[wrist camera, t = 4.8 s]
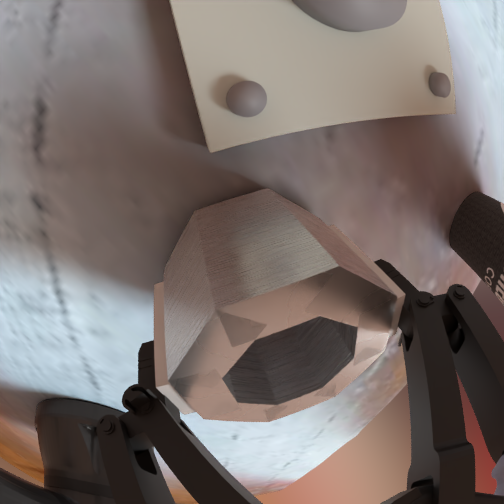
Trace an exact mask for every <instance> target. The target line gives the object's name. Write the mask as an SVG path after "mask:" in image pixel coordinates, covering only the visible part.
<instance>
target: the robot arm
mask: <svg viewBox="0 0 504 504" xmlns="http://www.w3.org/2000/svg"><path fill="white" fill-rule="evenodd" d="M328 227H329V228H330V229H331V230H332V231H333V232H334V233H336V234H337V235H338V236H339V237H340V238H341V239H342V240H343V241H344V242H345V243H346V244H347V245H348V246H349V247H350V248H351V249H352V250H353V251H354V252H355V253H356V254H357V255H358V256H359V257H360V258H361V259H362V260H363V261H364V262H365V263H366V264H367V265H368V266H369V267H370V268H371V269H372V270H373V271H374V272H375V273H376V274H377V275H378V276H379V277H380V278H381V279H382V280H383V282H384V283H385V284H386V285H387V286H388V287H389V288H390V289H391V290H392V291H393V292H394V293H395V294H396V295H397V301H396V306H395V311H394V315H393V320H392V324H391V328H390V332H389V336H388V338H389V337H391V336H393V335H395V334H396V332H397V328H398V327H399V328H400V329H401V330H402V333H401V337H400V340H399V345H398V346H401V343H402V345H403V352H404V359H405V366H406V374H407V383H408V393H409V403H410V418H411V443H412V444H411V446H412V447H411V448H412V449H411V450H412V453H411V457H412V459H411V466H410V468H409V472H408V478H407V490H406V491H403V492H400V493H398V494H397V495H395V496H393V497H391V498H390V499H388V500H386V501H384V502H382V503H381V504H504V342H503V340H502V339H501V337H500V335H499V334H498V332H497V330H496V329H495V327H494V326H493V324H492V323H491V321H490V319H489V318H488V316H487V315H486V313H485V312H484V311H483V309H482V308H481V306H480V305H479V303H478V302H477V301H476V299H475V298H474V296H473V295H472V294H471V292H470V291H469V290H468V289H467V288H466V287H465V286H463V285H460V284H454V285H452V286H450V287H449V289H448V291H447V293H446V294H442V295H437V296H433V295H432V294H430V293H428V292H424V291H420V292H419V291H418V290H417V289H416V288H415V287H414V286H413V285H412V284H411V283H410V282H409V281H408V280H407V279H406V278H405V277H404V276H403V275H401V273H400V272H398V271H397V270H396V269H395V268H394V267H393V266H392V265H391V264H390V263H388V262H386V261H384V260H382V259H380V260H378V261H375V262H373V261H372V260H371V259H370V258H369V257H368V256H367V255H366V254H365V253H364V252H363V251H361V250H360V249H359V248H358V247H357V246H356V245H355V244H354V243H353V242H352V241H351V240H350V239H349V238H348V237H346V236H345V235H344V234H343V233H342V232H341V231H340V230H339V229H338V228H337V227H335V226H334V225H331V226H328ZM138 362H139V363H138V369H139V370H138V384H134V385H132V386H130V387H129V388H128V389H127V390H126V391H125V392H124V394H123V397H122V403H123V406H124V407H125V408H126V409H127V410H129V411H128V412H126V413H122V412H120V411H117V410H114V409H111V408H108V407H104V406H100V405H97V404H92V403H88V402H83V401H77V400H69V399H49V400H45V401H42V402H40V403H39V404H38V406H37V410H36V416H35V428H36V431H37V433H38V441H39V447H40V452H41V457H42V461H43V465H44V488H43V487H40V486H38V485H35V484H33V483H31V482H28V481H26V480H24V479H22V478H20V477H17V476H16V475H14V474H12V473H10V472H8V471H6V470H4V469H2V468H0V504H175V502H174V499H173V497H172V495H171V493H170V491H169V488H168V486H167V484H166V482H165V479H164V477H163V474H162V472H161V469H160V467H159V464H158V462H157V459H156V457H155V454H154V447H155V448H156V450H157V451H158V453H159V454H160V456H161V457H162V458H163V460H164V461H165V463H166V464H167V465H168V467H169V468H170V469H171V471H172V472H173V473H174V475H175V476H176V477H177V478H178V480H179V481H180V482H181V483H182V485H183V486H184V487H185V488H186V489H187V491H188V492H189V493H190V494H191V495H192V497H193V498H194V499H195V500H196V501H197V502H198V503H199V504H262V503H261V502H260V501H259V500H258V499H257V498H256V497H254V496H253V495H252V494H251V493H250V492H249V491H248V490H247V489H246V488H245V487H244V486H243V485H241V484H240V483H239V482H238V481H237V480H236V479H235V478H234V477H233V476H232V475H231V474H230V473H229V472H228V471H227V470H226V469H225V468H224V467H223V466H222V465H221V464H220V463H219V462H218V460H217V459H216V458H215V457H214V456H213V455H212V454H211V453H210V452H209V451H208V450H207V448H206V447H205V446H204V445H203V444H202V443H201V442H200V441H199V439H198V438H197V437H196V436H195V435H194V434H193V432H192V431H191V430H190V429H189V428H188V426H187V425H186V424H185V423H184V421H183V420H181V419H180V412H182V413H183V414H184V415H185V414H189V413H193V412H196V411H195V410H194V409H193V408H192V407H191V406H190V405H189V404H188V403H187V401H186V400H185V399H184V398H183V397H182V396H181V395H180V394H179V393H178V392H177V391H176V390H175V389H174V387H173V386H172V385H171V384H170V383H169V382H168V376H167V363H166V347H165V326H164V281H163V282H160V283H157V284H154V340H153V341H149V342H146V343H142V345H141V348H140V350H139V352H138ZM455 369H456V370H455ZM456 371H457V373H458V376H459V378H460V379H461V382H462V384H463V387H464V389H465V391H466V393H467V396H468V398H469V400H470V403H471V405H472V408H473V410H474V413H475V415H476V418H477V420H478V423H479V426H480V429H481V431H482V434H483V437H484V440H485V443H486V446H487V448H488V451H489V453H490V455H491V457H492V459H493V460H494V461H495V463H496V466H495V468H494V469H493V470H492V477H493V478H495V479H496V480H497V488H496V491H495V493H494V495H493V494H485V493H479V492H475V454H474V448H473V446H472V444H471V443H469V442H468V441H467V439H466V432H465V423H464V415H463V408H462V402H461V396H460V390H459V385H458V380H457V374H456ZM179 411H180V412H179Z"/></svg>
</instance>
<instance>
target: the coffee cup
mask: <svg viewBox="0 0 504 504" xmlns="http://www.w3.org/2000/svg"><path fill="white" fill-rule="evenodd" d="M450 245H451V247H452V249H453V250H454V251H455V252H456V253H457V254H458V255H459V256H460V257H461V258H462V259H463V260H464V261H465V262H466V263H467V264H468V265H469V266H470V267H471V268H472V269H473V270H474V271H475V272H476V274H477V275H478V276H479V277H480V278H481V279H482V280H483V281H484V282H485V283H486V284H487V286H488V287H489V288H490V289H491V290H492V291H493V293H494V294H495V295H496V296H497V297H498V299H499V300H500V301H501V302H502V303H503V305H504V204H503V203H501V202H499V201H497V200H495V199H493V198H491V197H489V196H487V195H485V194H482V193H480V192H475V193H472V194H471V195H470V196H468V197H467V198H466V199H465V201H464V202H463V203H462V205H461V206H460V208H459V210H458V212H457V214H456V216H455V218H454V221H453V224H452V228H451V232H450Z"/></svg>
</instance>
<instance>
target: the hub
mask: <svg viewBox="0 0 504 504" xmlns="http://www.w3.org/2000/svg"><path fill="white" fill-rule="evenodd" d="M396 301H397V295H396V294H395V293H394V292H393V291H392V290H391V289H390V288H389V287H388V286H387V285H386V284H385V283H384V282H383V280H382V279H381V278H380V277H379V276H378V275H377V274H376V273H375V272H374V271H373V270H372V269H371V268H370V267H369V266H368V265H367V264H366V263H365V262H364V261H363V260H362V259H361V258H360V257H359V256H358V255H357V254H356V253H355V252H354V251H353V250H352V249H351V248H350V247H349V246H348V245H347V244H346V243H345V242H344V241H343V240H342V239H341V238H340V237H339V236H338V235H337V234H336V233H334V232H333V231H332V230H331V229H330V228H329V227H328V226H327V225H326V224H325V223H324V222H323V221H322V220H321V219H319V218H318V217H316V216H315V215H313V214H311V213H310V212H308V211H306V210H305V209H303V208H301V207H299V206H298V205H296V204H294V203H293V202H291V201H289V200H288V199H286V198H284V197H282V196H281V195H279V194H277V193H275V192H274V191H272V190H270V189H268V188H266V189H262V190H259V191H256V192H252V193H249V194H245V195H242V196H239V197H236V198H232V199H229V200H226V201H223V202H220V203H216V204H213V205H210V206H207V207H204V208H201V209H198V210H195V211H194V213H193V214H192V216H191V218H190V220H189V222H188V224H187V225H186V227H185V229H184V231H183V233H182V235H181V237H180V239H179V241H178V243H177V244H176V246H175V248H174V250H173V252H172V254H171V256H170V258H169V260H168V262H167V264H166V266H165V268H164V326H165V347H166V363H167V376H168V382H169V383H170V384H171V385H172V386H173V387H174V389H175V390H176V391H177V392H178V393H179V394H180V395H181V396H182V397H183V398H184V399H185V400H186V401H187V403H188V404H189V405H190V406H191V407H192V408H193V409H194V410H195V411H196V412H197V413H198V414H199V415H200V416H201V417H202V418H203V419H209V420H223V421H243V422H270V421H273V420H276V419H279V418H282V417H285V416H287V415H290V414H293V413H296V412H298V411H301V410H304V409H306V408H309V407H311V406H314V405H316V404H319V403H321V402H323V401H326V400H328V399H330V398H333V397H335V396H336V395H337V394H339V393H340V392H341V391H342V390H343V389H344V388H346V387H347V386H348V385H349V384H350V383H351V382H352V381H353V380H355V379H356V378H357V377H358V376H359V375H360V374H361V373H362V372H363V371H364V370H365V369H366V368H367V367H368V366H369V365H371V364H372V363H373V362H374V361H375V360H376V359H377V358H378V357H379V356H380V355H381V354H382V353H383V352H384V351H385V348H386V344H387V340H388V336H389V332H390V328H391V324H392V320H393V315H394V311H395V306H396Z"/></svg>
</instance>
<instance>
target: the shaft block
mask: <svg viewBox="0 0 504 504" xmlns="http://www.w3.org/2000/svg"><path fill="white" fill-rule="evenodd" d="M169 3H170V7H171V11H172V15H173V19H174V23H175V27H176V31H177V35H178V39H179V43H180V46H181V50H182V54H183V58H184V62H185V66H186V70H187V73H188V77H189V81H190V85H191V88H192V92H193V96H194V100H195V103H196V107H197V111H198V114H199V118H200V122H201V126H202V129H203V133H204V136H205V140H206V144H207V147H208V149H209V151H210V153H213V152H216V151H219V150H223V149H227V148H230V147H234V146H238V145H241V144H245V143H249V142H253V141H257V140H261V139H266V138H270V137H274V136H279V135H283V134H288V133H293V132H298V131H303V130H308V129H313V128H319V127H324V126H330V125H336V124H343V123H350V122H357V121H364V120H373V119H381V118H391V117H402V116H416V115H435V114H456V112H455V92H454V80H453V70H452V62H451V55H450V49H449V43H448V37H447V32H446V27H445V22H444V18H443V14H442V10H441V6H440V2H439V0H169Z"/></svg>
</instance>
